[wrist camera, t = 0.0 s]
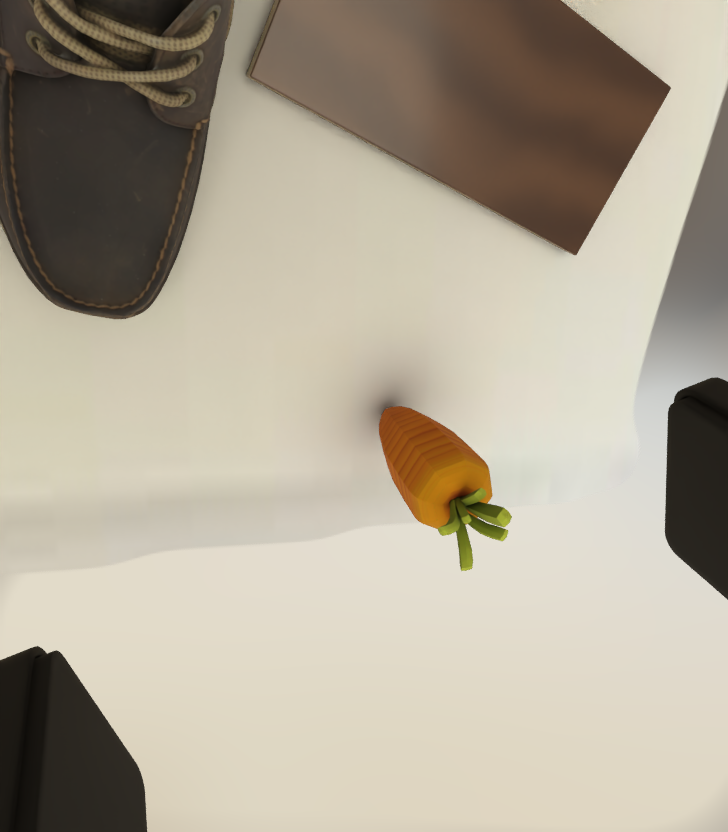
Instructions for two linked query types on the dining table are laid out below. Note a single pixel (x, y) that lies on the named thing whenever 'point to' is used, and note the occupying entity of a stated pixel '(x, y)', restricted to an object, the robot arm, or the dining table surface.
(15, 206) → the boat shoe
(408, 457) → the carrot
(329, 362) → the dining table surface
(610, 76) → the board
